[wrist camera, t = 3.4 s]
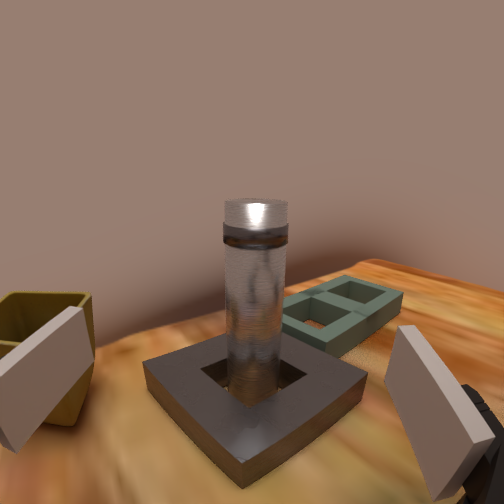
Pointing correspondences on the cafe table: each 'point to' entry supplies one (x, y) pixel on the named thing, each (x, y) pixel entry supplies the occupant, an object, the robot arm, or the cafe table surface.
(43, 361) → the robot arm
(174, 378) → the socket block
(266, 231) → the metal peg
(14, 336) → the flower pot
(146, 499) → the cafe table surface
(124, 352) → the cafe table surface
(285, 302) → the frame
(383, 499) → the cafe table surface
